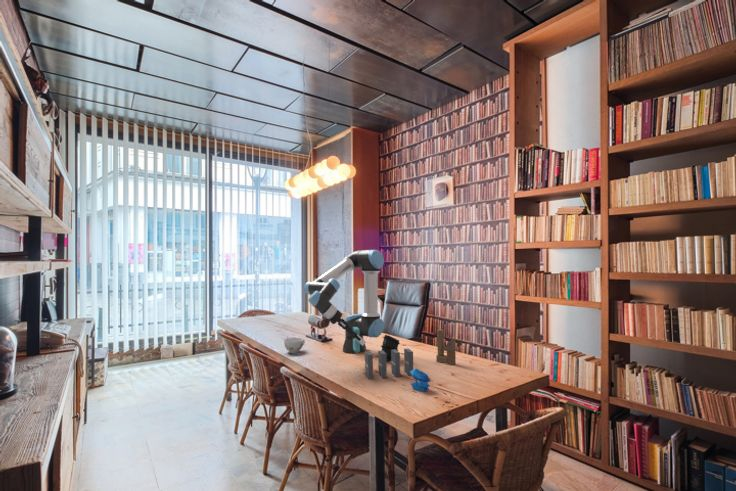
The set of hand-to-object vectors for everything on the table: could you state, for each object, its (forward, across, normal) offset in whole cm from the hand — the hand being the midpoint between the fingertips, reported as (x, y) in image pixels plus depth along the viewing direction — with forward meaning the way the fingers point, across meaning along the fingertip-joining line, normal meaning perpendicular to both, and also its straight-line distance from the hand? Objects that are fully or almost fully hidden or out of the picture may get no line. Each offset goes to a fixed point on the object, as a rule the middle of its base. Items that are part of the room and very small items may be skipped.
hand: (362, 342), depth 201 cm
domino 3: (+19, +18, 0) cm, 26 cm away
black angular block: (+23, -8, +3) cm, 24 cm away
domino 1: (+9, +18, -10) cm, 22 cm away
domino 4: (+24, +18, +5) cm, 30 cm away
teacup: (-15, -43, -34) cm, 57 cm away
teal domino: (0, 0, -5) cm, 5 cm away
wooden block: (+43, +5, +23) cm, 49 cm away
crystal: (+22, +41, +3) cm, 46 cm away
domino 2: (+14, +18, -5) cm, 23 cm away
